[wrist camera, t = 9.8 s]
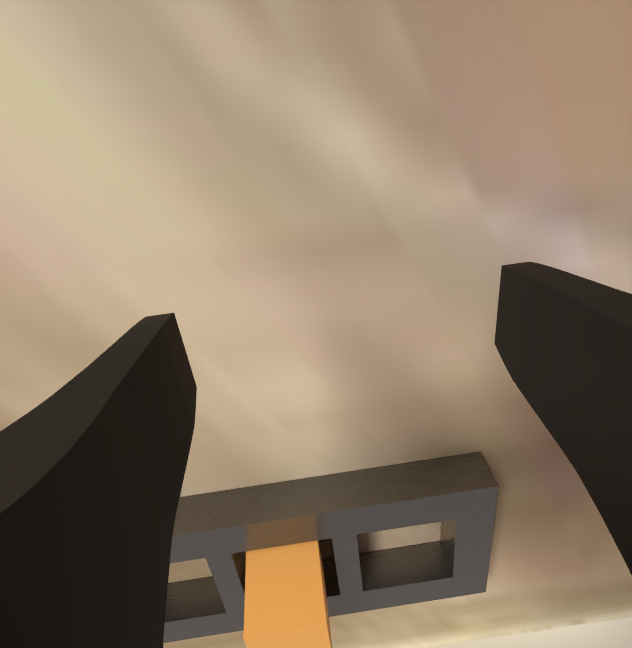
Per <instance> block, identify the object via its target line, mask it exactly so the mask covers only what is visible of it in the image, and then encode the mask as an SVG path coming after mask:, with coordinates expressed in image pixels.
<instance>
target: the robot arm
mask: <svg viewBox="0 0 632 648" xmlns="http://www.w3.org/2000/svg"><path fill="white" fill-rule="evenodd" d="M495 345H496V347H497V349H498V352H499V354H500V356H501V358H502V360H503V362H504V364H505V366H506V368H507V370H508V372H509V374H510V376H511V378H512V379H513V381H514V382H515V384H516V385H517V387H518V388H519V390H520V391H521V393H522V394H523V395H524V397H525V398H526V400H527V401H528V403H529V404H530V405H531V407H532V408H533V410H534V411H535V412H536V414H537V415H538V417H539V418H540V419H541V421H542V422H543V424H544V425H545V427H546V428H547V429H548V431H549V432H550V434H551V435H552V436H553V438H554V439H555V441H556V442H557V443H558V445H559V446H560V448H561V449H562V450H563V452H564V453H565V455H566V456H567V458H568V459H569V461H570V462H571V464H572V465H573V467H574V468H575V470H576V471H577V473H578V475H579V476H580V478H581V480H582V482H583V484H584V485H585V487H586V489H587V491H588V493H589V494H590V496H591V498H592V500H593V502H594V503H595V505H596V507H597V509H598V511H599V512H600V514H601V516H602V518H603V520H604V522H605V524H606V526H607V527H608V529H609V531H610V533H611V535H612V537H613V539H614V541H615V543H616V545H617V547H618V549H619V551H620V553H621V554H622V556H623V558H624V560H625V562H626V564H627V566H628V568H629V571H630V573H631V575H632V294H630V293H626V292H623V291H620V290H617V289H614V288H611V287H608V286H606V285H603V284H600V283H597V282H594V281H591V280H588V279H585V278H582V277H579V276H577V275H574V274H571V273H568V272H565V271H562V270H559V269H556V268H553V267H549V266H546V265H542V264H538V263H533V262H524V263H517V264H510V265H503V266H502V269H501V280H500V291H499V301H498V312H497V323H496V334H495ZM196 390H197V387H196V383H195V380H194V377H193V374H192V370H191V367H190V364H189V360H188V357H187V354H186V351H185V347H184V344H183V341H182V337H181V334H180V331H179V328H178V324H177V321H176V318H175V314H174V313H169V314H162V315H155V316H148V317H145V318H144V319H142V320H141V321H139V322H138V323H137V324H136V325H134V326H133V327H132V328H131V329H130V330H129V331H127V332H126V333H125V334H124V335H123V336H122V337H121V338H119V339H118V340H117V341H116V342H115V343H114V344H113V345H112V346H111V347H109V348H108V349H107V350H106V351H105V352H104V353H103V354H101V355H100V356H99V357H98V358H97V359H96V360H95V361H94V362H92V363H91V364H90V365H89V366H88V367H87V368H85V369H84V370H83V371H82V372H80V373H79V374H78V375H77V376H75V377H74V378H73V379H72V380H71V381H69V382H68V383H67V384H66V385H64V386H63V387H62V388H61V389H59V390H58V391H57V392H56V393H54V394H53V395H52V396H51V397H49V398H48V399H47V400H45V401H44V402H43V403H41V404H40V405H38V406H37V407H36V408H34V409H33V410H32V411H30V412H29V413H27V414H26V415H24V416H23V417H21V418H20V419H18V420H17V421H15V422H14V423H12V424H11V425H9V426H8V427H6V428H5V429H3V430H2V431H0V648H163V639H164V625H165V612H166V599H167V587H168V576H169V566H170V555H171V545H172V536H173V530H174V524H175V517H176V512H177V507H178V503H179V498H180V493H181V489H182V484H183V479H184V474H185V470H186V465H187V460H188V455H189V450H190V445H191V441H192V436H193V430H194V424H195V410H196Z"/></svg>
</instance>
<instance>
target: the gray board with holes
mask: <svg viewBox="0 0 632 648" xmlns="http://www.w3.org/2000/svg"><path fill="white" fill-rule="evenodd" d="M497 493H498V485H497V483H496V481H495V479H494V477H493V475H492V473H491V471H490V469H489V467H488V465H487V463H486V461H485V459H484V457H483V455H482V454H481V452H476V453H470V454H463V455H457V456H450V457H443V458H437V459H430V460H424V461H417V462H411V463H404V464H397V465H391V466H384V467H378V468H371V469H364V470H358V471H351V472H345V473H338V474H331V475H325V476H318V477H312V478H305V479H299V480H292V481H285V482H279V483H272V484H266V485H259V486H252V487H246V488H239V489H233V490H226V491H219V492H213V493H206V494H200V495H193V496H186V497H180V498H179V503H178V507H177V512H176V517H175V524H174V530H173V536H172V545H171V555H170V563H175V562H181V561H187V560H194V559H200V558H206V560H207V562H208V565H209V568H210V570H211V573H212V576H213V577H207V578H201V579H194V580H188V581H181V582H175V583H168V587H167V599H166V612H165V625H164V639H163V643H166V642H172V641H178V640H185V639H191V638H197V637H204V636H210V635H216V634H223V633H229V632H235V631H242V630H244V607H245V574H246V555H245V552H246V551H252V550H259V549H265V548H272V547H278V546H285V545H291V544H297V543H304V542H310V541H317V540H323V539H330V538H332V544H333V550H334V557H335V558H329V559H323V560H322V562H323V571H324V580H325V588H326V597H327V606H328V615H329V617H330V616H337V615H343V614H349V613H356V612H362V611H368V610H375V609H381V608H387V607H394V606H400V605H406V604H413V603H419V602H425V601H432V600H438V599H444V598H451V597H457V596H463V595H470V594H476V593H482V592H486V585H487V577H488V568H489V560H490V552H491V543H492V535H493V527H494V518H495V510H496V501H497ZM440 521H441V539H440V541H439V542H432V543H426V544H419V545H413V546H406V547H400V548H394V549H387V550H381V551H374V552H368V553H361V554H359V551H358V542H357V534H362V533H369V532H375V531H382V530H388V529H395V528H401V527H407V526H414V525H420V524H427V523H433V522H440Z"/></svg>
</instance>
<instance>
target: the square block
mask: <svg viewBox="0 0 632 648" xmlns="http://www.w3.org/2000/svg"><path fill="white" fill-rule="evenodd" d="M244 641H245V644H246V646H247V648H332V642H331V633H330V624H329V615H328V606H327V597H326V588H325V580H324V571H323V562H322V553H321V545H320V540H317V541H310V542H304V543H297V544H291V545H285V546H278V547H272V548H265V549H259V550H252V551H246V574H245V607H244Z"/></svg>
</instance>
